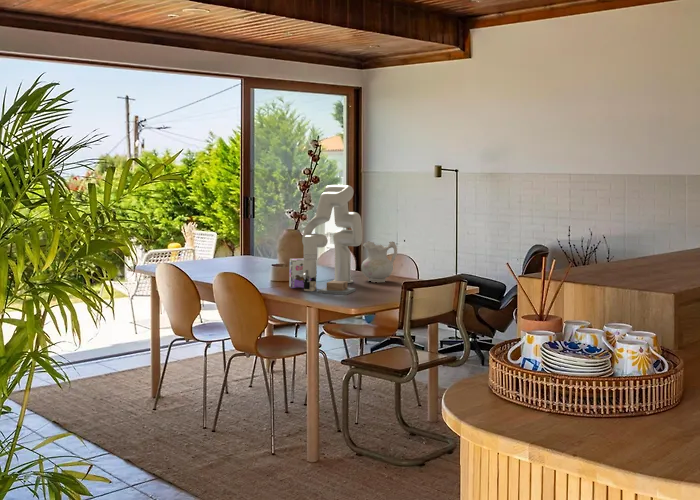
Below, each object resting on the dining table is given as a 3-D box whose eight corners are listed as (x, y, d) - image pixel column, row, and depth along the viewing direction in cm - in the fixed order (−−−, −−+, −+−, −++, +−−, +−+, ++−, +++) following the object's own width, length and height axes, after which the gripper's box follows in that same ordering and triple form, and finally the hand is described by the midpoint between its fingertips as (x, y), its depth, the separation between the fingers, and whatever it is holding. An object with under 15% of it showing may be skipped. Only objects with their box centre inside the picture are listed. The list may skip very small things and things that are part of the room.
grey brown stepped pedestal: (328, 289, 472) (328, 279, 472) (355, 290, 467) (355, 281, 467) (318, 293, 457) (318, 283, 457) (346, 294, 452) (346, 284, 452)
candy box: (291, 288, 475) (291, 259, 474) (288, 287, 481) (289, 258, 479) (314, 287, 479) (315, 259, 477) (312, 286, 484) (312, 257, 483)
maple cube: (307, 289, 471) (307, 280, 470) (315, 290, 469) (315, 281, 469) (304, 290, 466) (304, 281, 465) (312, 291, 464) (312, 282, 464)
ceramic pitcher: (397, 281, 518) (398, 241, 517) (396, 283, 498) (396, 241, 498) (362, 281, 520) (363, 240, 519) (360, 282, 500) (360, 240, 500)
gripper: (309, 255, 475) (309, 285, 477) (298, 258, 459) (297, 289, 460) (322, 256, 473) (321, 286, 474) (310, 259, 456) (310, 290, 458)
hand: (310, 288), depth 467 cm, fingers open, 9 cm apart
